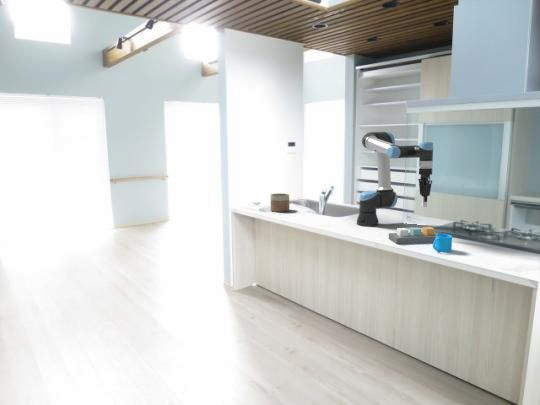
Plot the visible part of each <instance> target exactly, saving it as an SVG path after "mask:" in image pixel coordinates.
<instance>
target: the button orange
mask: <svg viewBox="0 0 540 405" xmlns="http://www.w3.org/2000/svg"><path fill="white" fill-rule="evenodd" d="M422 232H423V234H424V235H426V236H431V235H434V232H435V228H433V227H432V226H426V227H425V226H423V227H422Z"/></svg>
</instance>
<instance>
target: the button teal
mask: <svg viewBox="0 0 540 405" xmlns="http://www.w3.org/2000/svg"><path fill="white" fill-rule="evenodd" d="M422 231H423V228H420V227H410V228H409V232H410V235H412V236H421V232H422Z"/></svg>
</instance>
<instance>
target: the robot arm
mask: <svg viewBox="0 0 540 405" xmlns="http://www.w3.org/2000/svg"><path fill="white" fill-rule="evenodd" d="M395 143H396V140H395V136H394V135H393V133H392V132H389V131H369V132H367V133H365V134H364V135H363V137H362V138H361V144H362V146H363V147H364V148H366V150H370V151H371V150H374V153H376V161H377V162H376V163H377V181H378V182H377V184H378V185H377V186H378V187H377V189H376V190H365V191H362V192H360V194H359V199H358V200H359V206H358V207H359V209H358V210H359V211H358V212H359V213H358V216H357V219H356V225H357V226H362V227H375V226H378V225H379V222H380V221H379V219H378V216H377V210H380V209H381V210H384V209H392V208H394V207H396V205H397V203H398V194H397V193H396V192H395V191H394V188H393V187H392V180H391V159H395V160H397V159H413V158H414V159H416V158H417V159H418V167H419V168H418V175H420V178H418V185H419V195H420V196H421V207H422V208H428V197H429V196H430V195H431V189H432V184H433V180H431V176H432V175H433V163H434V161H433V160H434V159H433V158H434V143H433V142H432V141H422V142H421V141H420V143H419V145H416V144H413V145H397V144H395Z"/></svg>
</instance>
